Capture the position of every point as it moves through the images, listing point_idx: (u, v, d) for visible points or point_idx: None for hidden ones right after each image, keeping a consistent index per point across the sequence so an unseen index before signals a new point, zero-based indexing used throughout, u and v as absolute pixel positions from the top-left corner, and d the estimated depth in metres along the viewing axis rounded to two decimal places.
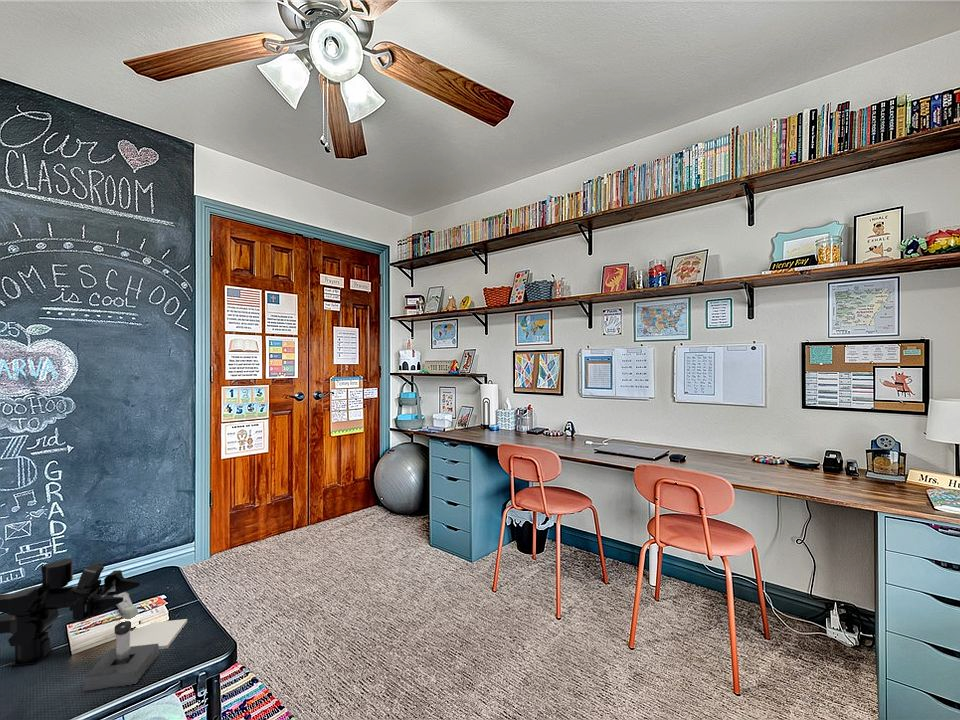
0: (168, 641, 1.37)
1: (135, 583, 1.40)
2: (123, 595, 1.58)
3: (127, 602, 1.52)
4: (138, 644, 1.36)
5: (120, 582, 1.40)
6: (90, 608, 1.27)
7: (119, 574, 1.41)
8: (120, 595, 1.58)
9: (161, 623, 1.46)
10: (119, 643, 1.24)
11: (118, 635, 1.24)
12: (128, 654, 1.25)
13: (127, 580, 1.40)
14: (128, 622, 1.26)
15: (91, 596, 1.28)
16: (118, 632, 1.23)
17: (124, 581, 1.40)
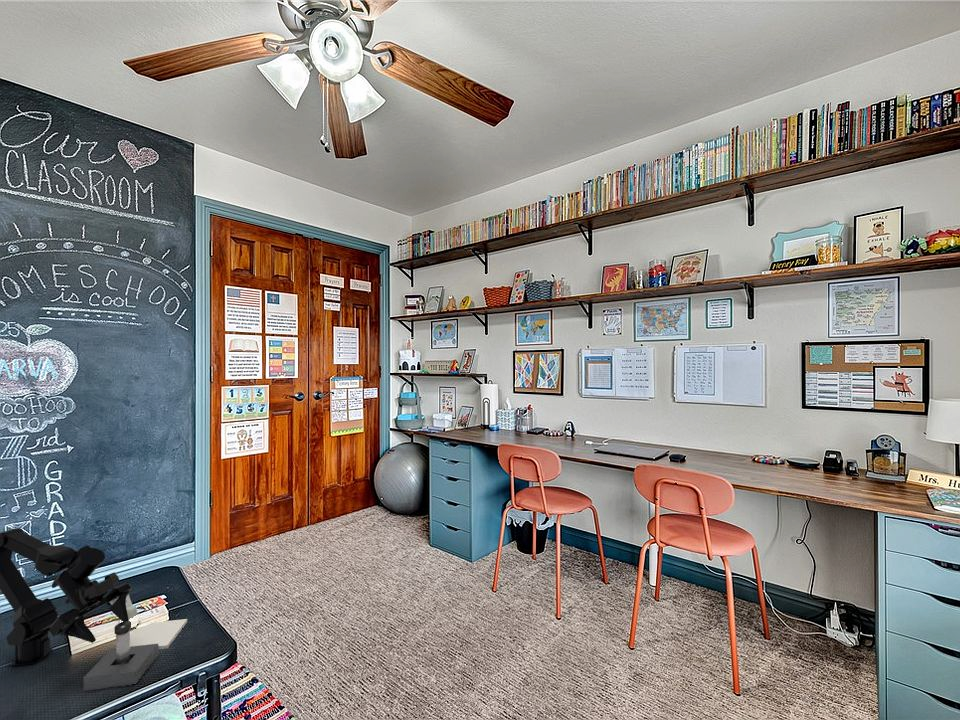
0: (168, 641, 1.37)
1: (124, 618, 1.30)
2: None
3: (127, 602, 1.52)
4: (138, 644, 1.36)
5: (118, 604, 1.31)
6: (66, 630, 1.19)
7: (125, 594, 1.33)
8: None
9: (161, 623, 1.46)
10: (119, 643, 1.24)
11: (118, 635, 1.24)
12: (128, 654, 1.25)
13: (123, 608, 1.31)
14: (128, 622, 1.26)
15: (76, 621, 1.19)
16: (118, 632, 1.23)
17: (121, 606, 1.31)
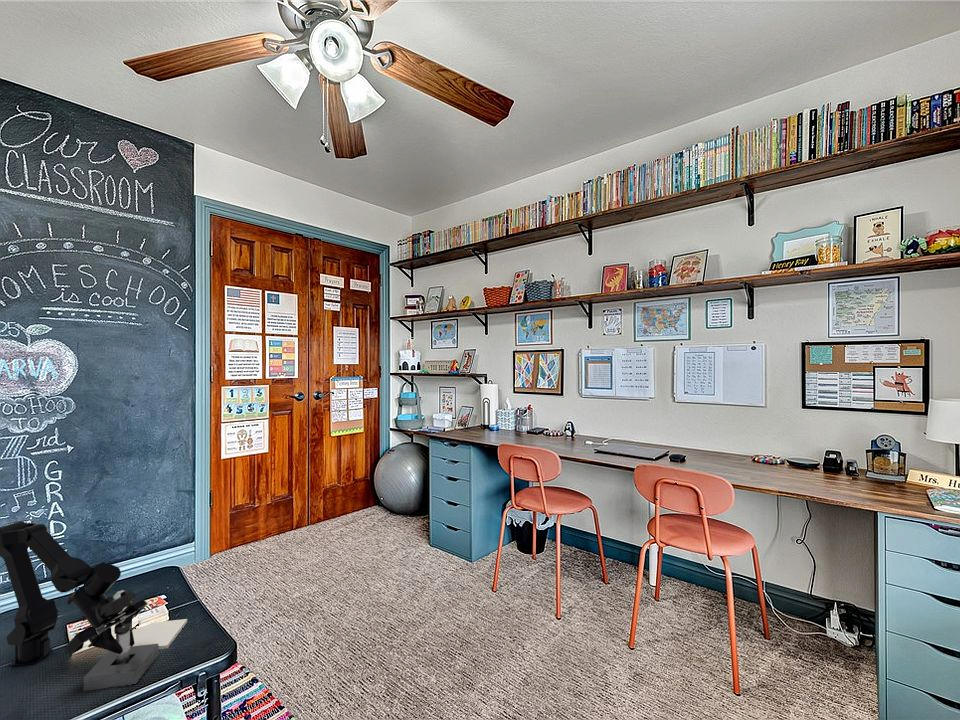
0: (168, 641, 1.37)
1: (130, 641, 1.26)
2: None
3: None
4: (138, 644, 1.36)
5: None
6: (94, 642, 1.21)
7: (131, 616, 1.29)
8: None
9: (161, 623, 1.46)
10: (119, 643, 1.24)
11: (118, 635, 1.24)
12: (128, 654, 1.25)
13: None
14: (128, 622, 1.26)
15: (104, 632, 1.21)
16: (118, 632, 1.23)
17: None
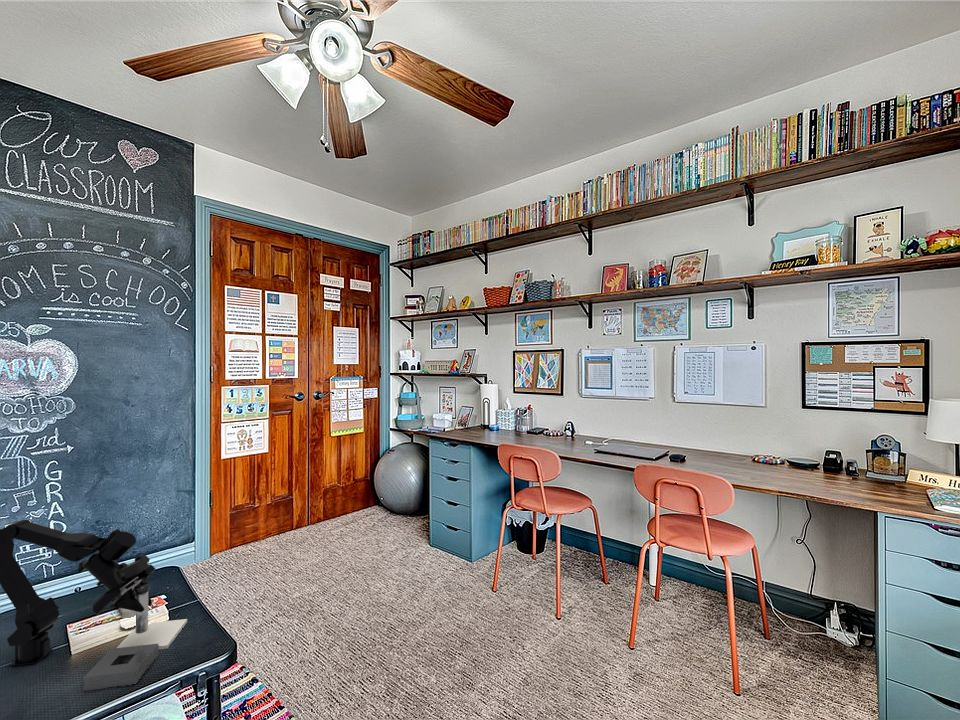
0: (168, 641, 1.37)
1: (148, 601, 1.34)
2: None
3: None
4: (138, 644, 1.36)
5: None
6: (117, 602, 1.28)
7: (145, 579, 1.36)
8: None
9: (161, 623, 1.46)
10: (140, 602, 1.31)
11: (139, 595, 1.31)
12: (147, 613, 1.33)
13: None
14: (146, 583, 1.34)
15: (127, 592, 1.29)
16: (139, 592, 1.31)
17: None
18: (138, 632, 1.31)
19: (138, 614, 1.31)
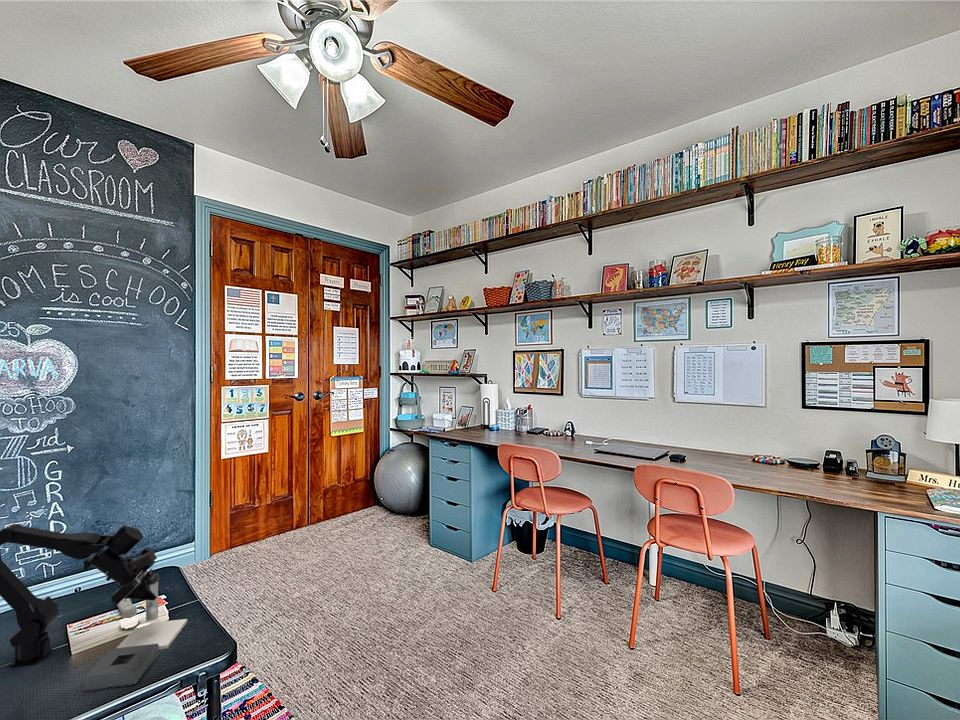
0: (168, 641, 1.37)
1: None
2: None
3: (126, 601, 1.52)
4: (138, 644, 1.36)
5: None
6: (132, 592, 1.35)
7: (151, 571, 1.44)
8: None
9: (161, 623, 1.46)
10: (152, 591, 1.40)
11: (151, 584, 1.39)
12: None
13: None
14: (154, 574, 1.42)
15: (142, 582, 1.36)
16: (152, 581, 1.39)
17: None
18: (150, 619, 1.39)
19: (150, 602, 1.39)
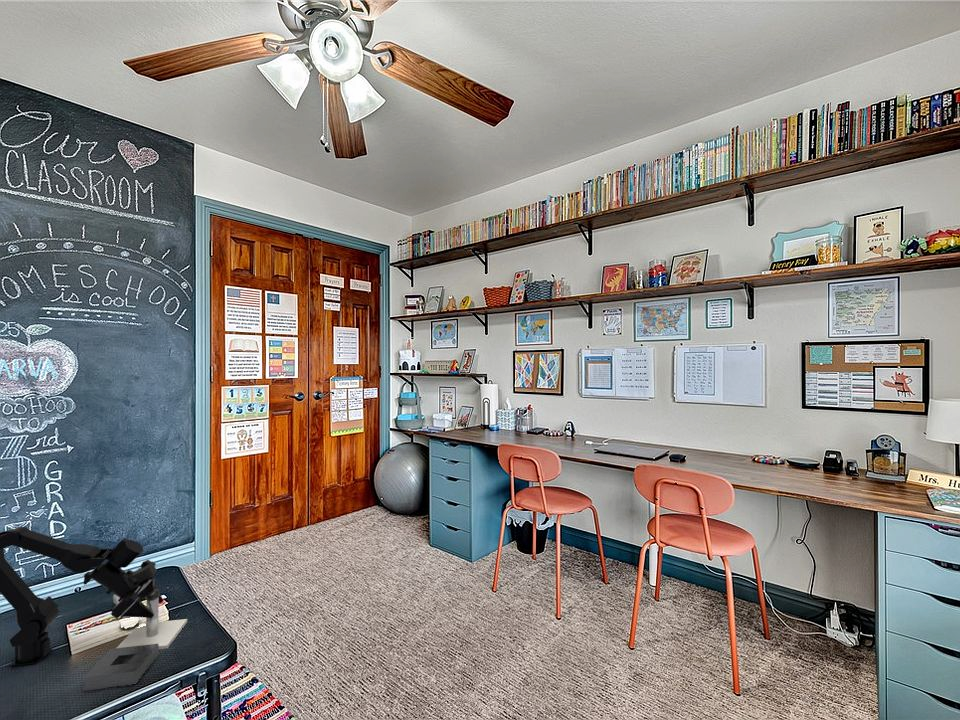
0: (168, 641, 1.37)
1: (160, 599, 1.45)
2: None
3: None
4: (138, 644, 1.36)
5: (150, 589, 1.45)
6: (129, 610, 1.32)
7: (154, 580, 1.46)
8: None
9: (161, 623, 1.46)
10: (152, 607, 1.40)
11: (151, 600, 1.39)
12: None
13: None
14: (155, 589, 1.42)
15: (139, 600, 1.34)
16: (152, 597, 1.39)
17: None
18: (150, 635, 1.39)
19: (150, 618, 1.39)
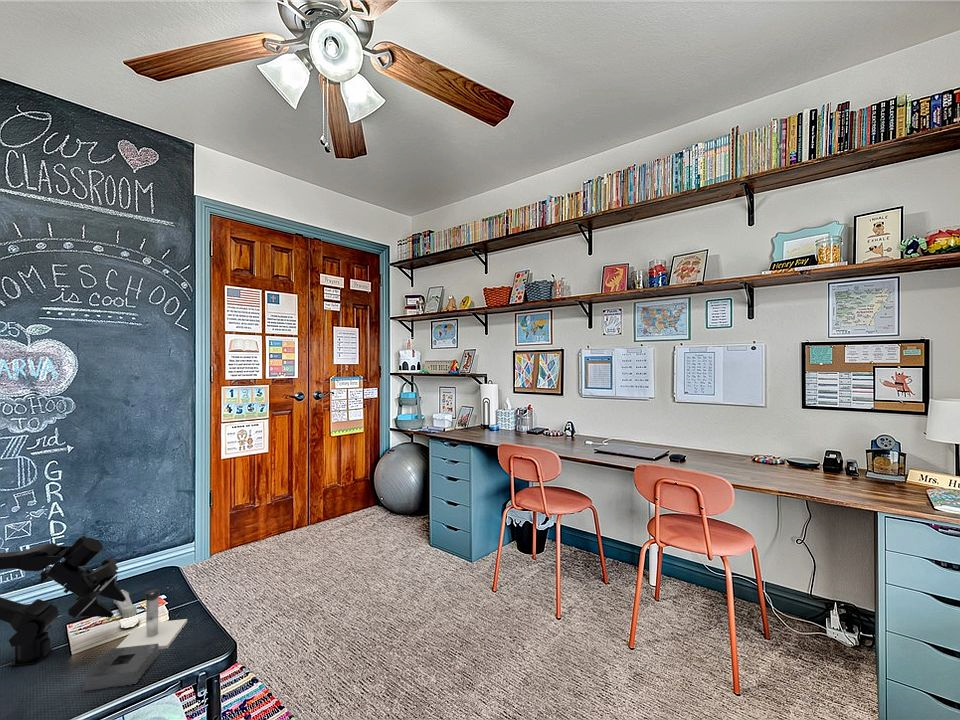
0: (168, 641, 1.37)
1: (122, 597, 1.42)
2: (123, 594, 1.59)
3: (126, 601, 1.53)
4: (138, 644, 1.36)
5: (112, 587, 1.41)
6: (87, 609, 1.29)
7: (116, 578, 1.43)
8: None
9: (161, 623, 1.46)
10: (152, 607, 1.40)
11: (151, 600, 1.39)
12: None
13: (118, 589, 1.42)
14: (155, 589, 1.42)
15: (97, 599, 1.30)
16: (152, 597, 1.39)
17: (115, 588, 1.41)
18: (150, 635, 1.39)
19: (150, 619, 1.39)
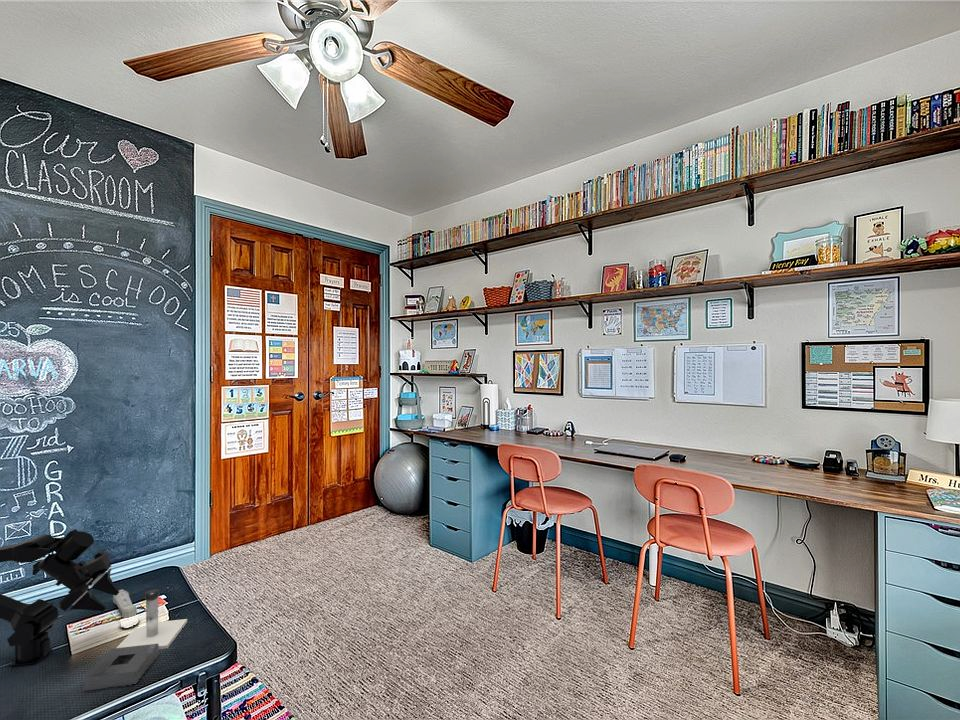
0: (168, 641, 1.37)
1: (115, 591, 1.40)
2: (123, 594, 1.59)
3: (126, 601, 1.53)
4: (138, 644, 1.36)
5: (105, 580, 1.40)
6: (78, 602, 1.27)
7: (109, 571, 1.41)
8: (120, 594, 1.59)
9: (161, 623, 1.46)
10: (152, 607, 1.40)
11: (151, 600, 1.39)
12: None
13: (111, 582, 1.40)
14: (155, 589, 1.42)
15: (89, 592, 1.29)
16: (152, 597, 1.39)
17: (108, 581, 1.40)
18: (150, 636, 1.39)
19: (150, 619, 1.39)
